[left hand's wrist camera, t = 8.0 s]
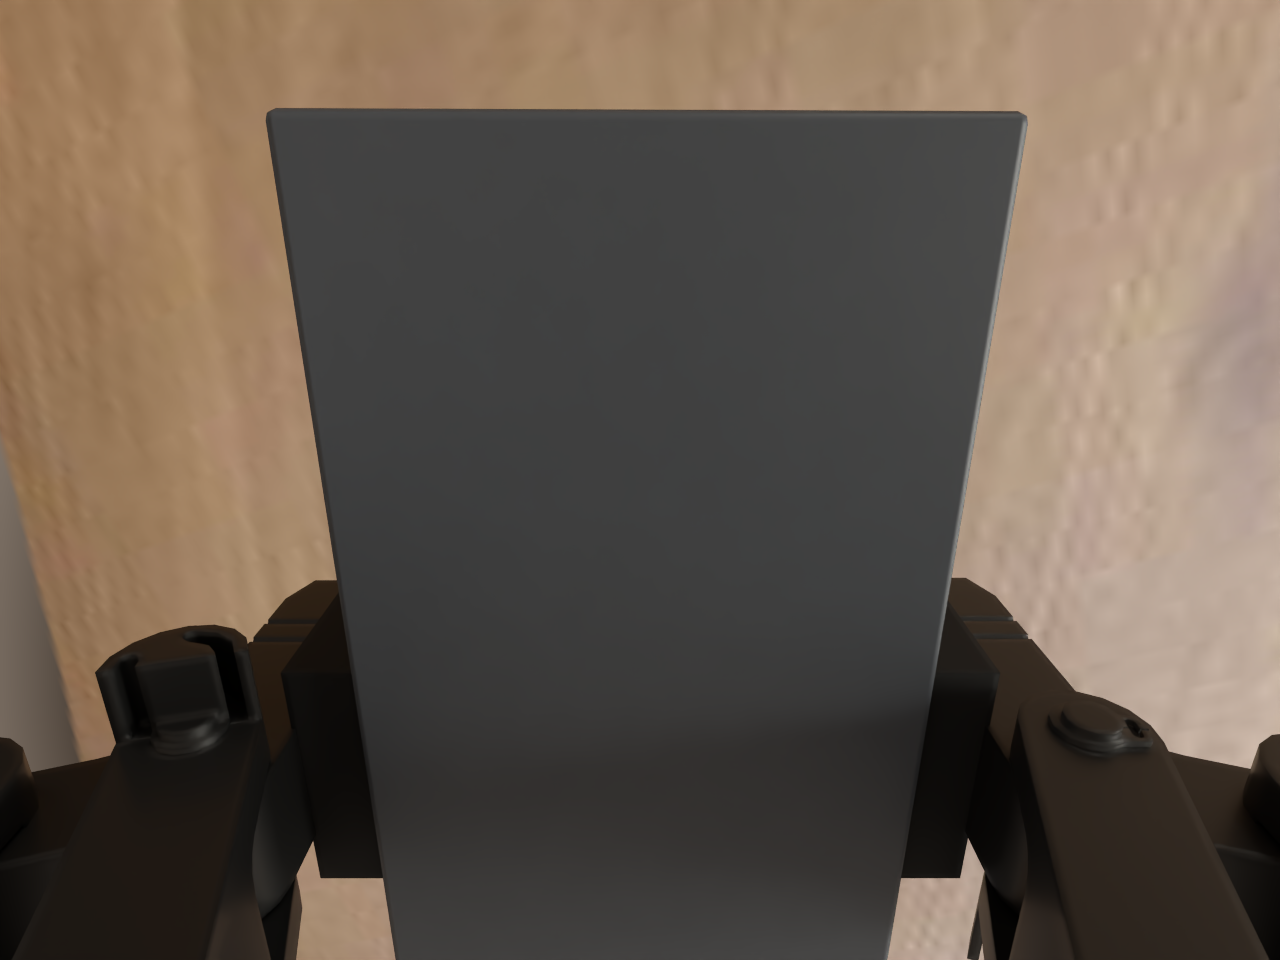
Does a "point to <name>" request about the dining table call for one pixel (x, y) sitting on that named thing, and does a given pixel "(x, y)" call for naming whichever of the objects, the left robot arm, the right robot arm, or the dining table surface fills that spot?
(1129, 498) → the dining table surface
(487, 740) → the beam
